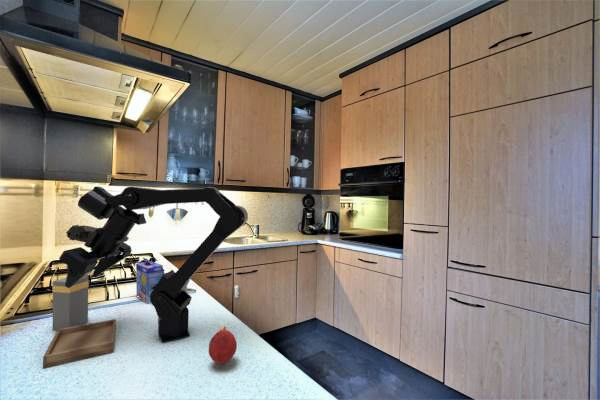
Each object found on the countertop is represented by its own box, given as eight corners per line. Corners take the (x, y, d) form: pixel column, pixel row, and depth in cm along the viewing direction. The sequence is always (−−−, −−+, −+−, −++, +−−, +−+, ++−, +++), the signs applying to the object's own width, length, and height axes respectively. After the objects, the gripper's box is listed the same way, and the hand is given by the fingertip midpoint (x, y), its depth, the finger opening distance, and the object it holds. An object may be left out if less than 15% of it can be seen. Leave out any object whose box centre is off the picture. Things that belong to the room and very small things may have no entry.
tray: (116, 327, 75) (116, 318, 75) (113, 352, 63) (113, 341, 63) (57, 339, 69) (58, 329, 69) (42, 368, 57) (43, 357, 57)
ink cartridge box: (134, 297, 98) (135, 256, 98) (151, 293, 102) (151, 254, 102) (146, 304, 92) (147, 260, 92) (163, 300, 96) (164, 258, 96)
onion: (237, 370, 57) (237, 331, 57) (207, 374, 56) (208, 334, 56) (235, 354, 63) (236, 319, 63) (208, 358, 61) (209, 322, 61)
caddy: (88, 322, 78) (88, 276, 78) (69, 332, 73) (69, 282, 72) (72, 321, 79) (72, 275, 79) (52, 330, 73) (52, 281, 73)
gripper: (112, 210, 80) (81, 256, 80) (58, 214, 61) (18, 274, 61) (145, 232, 80) (114, 277, 80) (102, 242, 62) (62, 301, 61)
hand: (81, 281), depth 71 cm, fingers open, 9 cm apart
